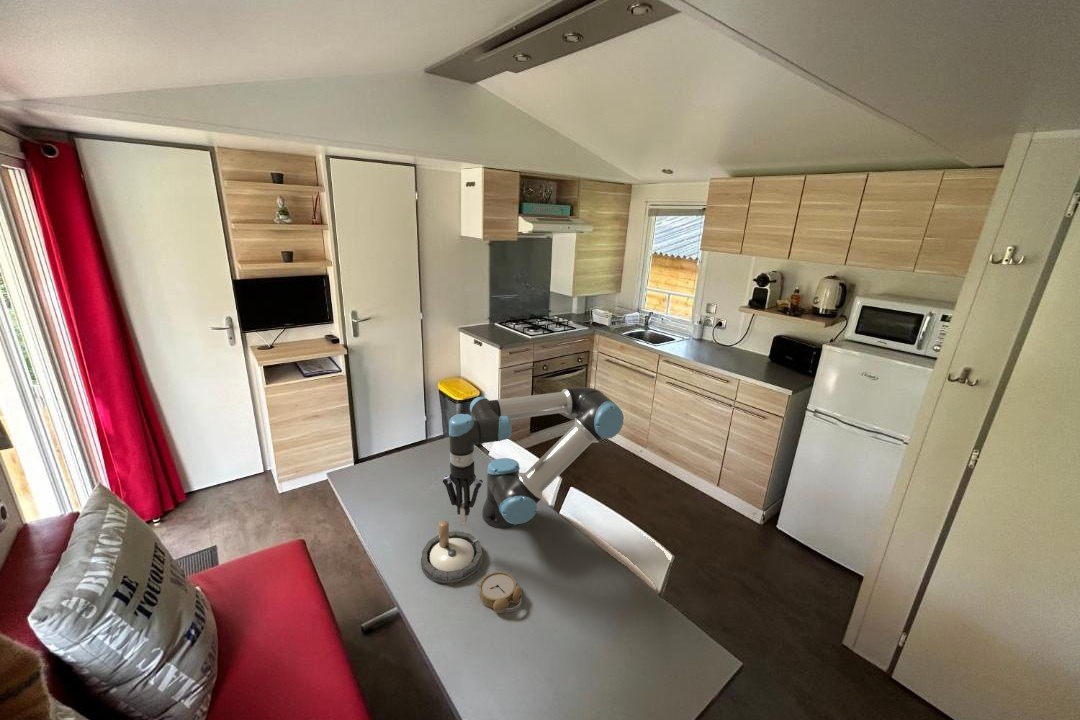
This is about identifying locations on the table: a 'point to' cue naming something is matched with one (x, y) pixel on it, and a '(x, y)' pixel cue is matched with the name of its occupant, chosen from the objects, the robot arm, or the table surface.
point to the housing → (451, 576)
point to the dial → (450, 551)
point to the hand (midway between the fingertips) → (463, 521)
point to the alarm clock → (499, 592)
